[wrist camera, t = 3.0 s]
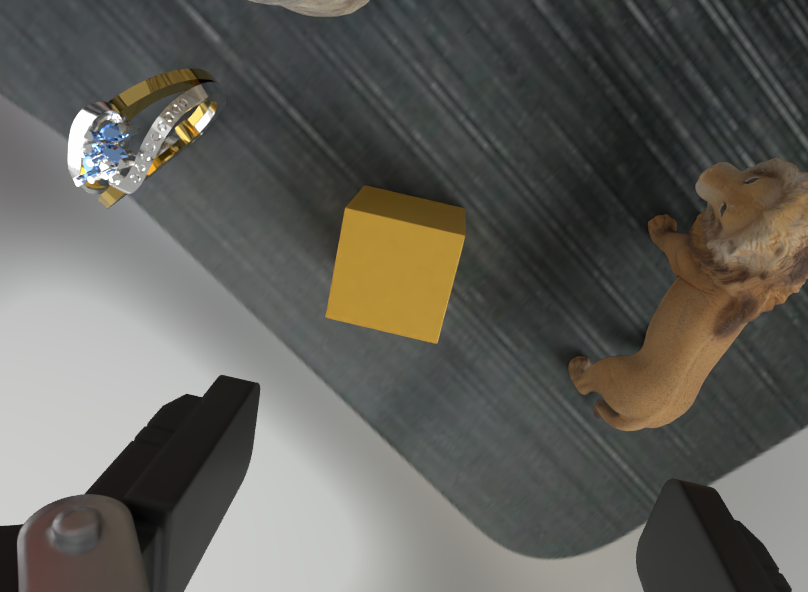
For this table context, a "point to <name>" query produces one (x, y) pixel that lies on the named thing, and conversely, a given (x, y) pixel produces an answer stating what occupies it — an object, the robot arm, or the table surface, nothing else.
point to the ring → (115, 162)
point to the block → (396, 263)
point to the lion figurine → (707, 291)
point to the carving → (318, 6)
